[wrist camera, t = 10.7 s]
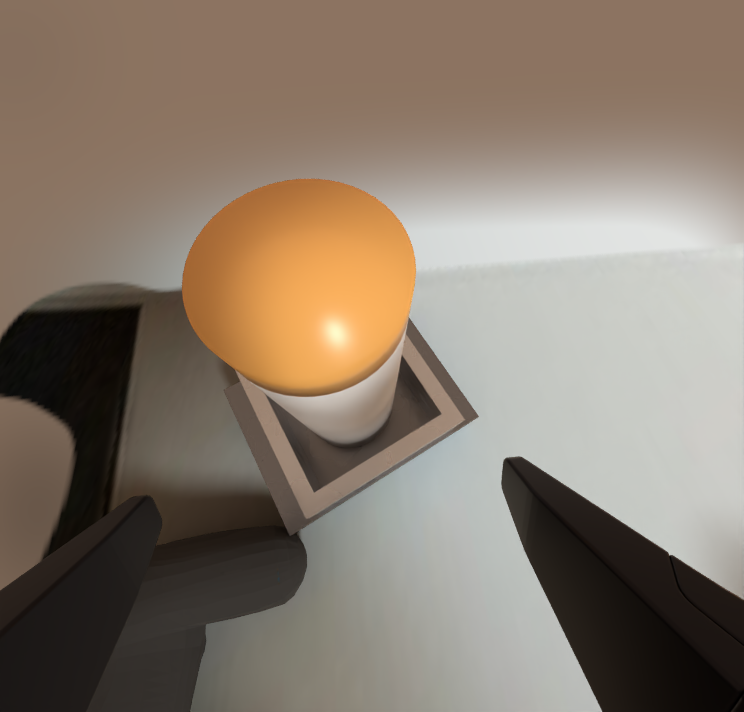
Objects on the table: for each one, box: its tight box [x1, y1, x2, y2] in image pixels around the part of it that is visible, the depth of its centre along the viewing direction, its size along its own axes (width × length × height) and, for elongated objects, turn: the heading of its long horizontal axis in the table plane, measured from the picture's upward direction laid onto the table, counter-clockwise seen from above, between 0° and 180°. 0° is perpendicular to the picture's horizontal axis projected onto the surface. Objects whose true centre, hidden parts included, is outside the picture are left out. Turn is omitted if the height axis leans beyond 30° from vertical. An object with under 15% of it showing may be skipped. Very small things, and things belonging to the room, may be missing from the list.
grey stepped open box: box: [224, 318, 479, 536], centre depth 20 cm, size 12×9×6 cm
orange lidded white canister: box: [182, 179, 416, 448], centre depth 14 cm, size 5×5×14 cm
